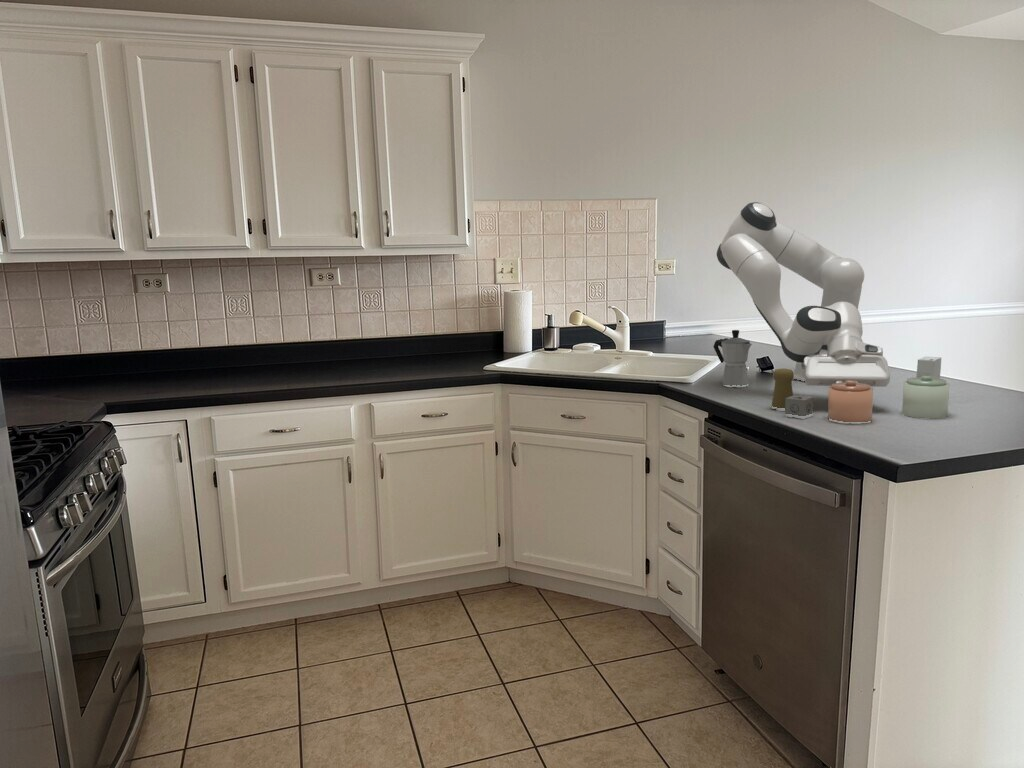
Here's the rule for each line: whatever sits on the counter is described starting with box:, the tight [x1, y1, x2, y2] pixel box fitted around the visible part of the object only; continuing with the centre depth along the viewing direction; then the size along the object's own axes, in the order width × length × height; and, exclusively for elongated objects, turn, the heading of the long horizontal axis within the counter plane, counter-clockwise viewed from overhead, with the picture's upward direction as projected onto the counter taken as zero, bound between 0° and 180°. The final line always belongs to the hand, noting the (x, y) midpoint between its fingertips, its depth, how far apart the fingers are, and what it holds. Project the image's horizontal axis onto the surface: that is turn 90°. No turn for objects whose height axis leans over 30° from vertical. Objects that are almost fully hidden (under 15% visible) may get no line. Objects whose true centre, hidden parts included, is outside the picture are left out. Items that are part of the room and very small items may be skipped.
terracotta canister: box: [827, 381, 874, 422], centre depth 180 cm, size 10×10×10 cm
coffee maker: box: [713, 329, 753, 386], centre depth 232 cm, size 15×9×18 cm, turn 34°
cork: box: [771, 368, 794, 408], centre depth 196 cm, size 6×6×11 cm
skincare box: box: [916, 356, 942, 379], centre depth 195 cm, size 6×4×12 cm
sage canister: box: [901, 376, 950, 420], centre depth 182 cm, size 10×10×10 cm
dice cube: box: [784, 394, 814, 416], centre depth 187 cm, size 5×5×5 cm
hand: (847, 397), depth 186 cm, fingers closed
